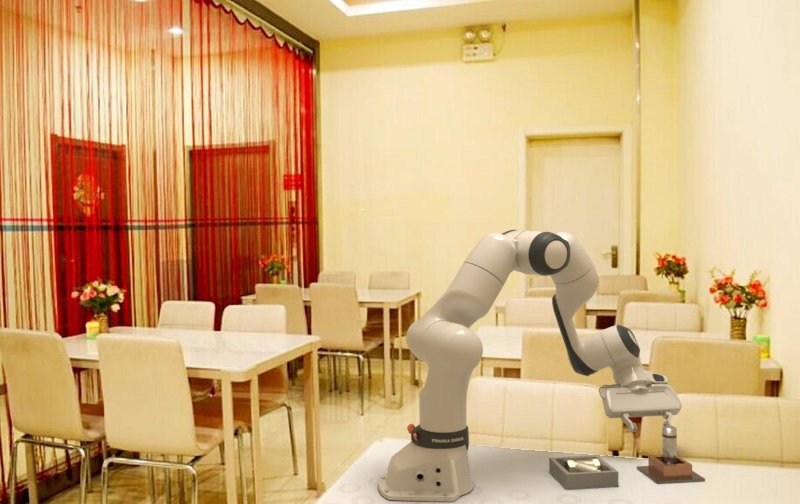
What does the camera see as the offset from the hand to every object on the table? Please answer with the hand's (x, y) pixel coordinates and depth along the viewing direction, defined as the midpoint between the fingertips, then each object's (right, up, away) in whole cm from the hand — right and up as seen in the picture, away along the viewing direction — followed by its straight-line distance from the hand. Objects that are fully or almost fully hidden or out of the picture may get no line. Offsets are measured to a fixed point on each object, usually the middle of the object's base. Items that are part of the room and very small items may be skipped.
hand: (651, 430), depth 163 cm
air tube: (+1, -8, -9) cm, 12 cm away
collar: (+1, -8, -9) cm, 12 cm away
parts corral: (-21, -9, -11) cm, 25 cm away
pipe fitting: (-20, -9, -10) cm, 24 cm away
